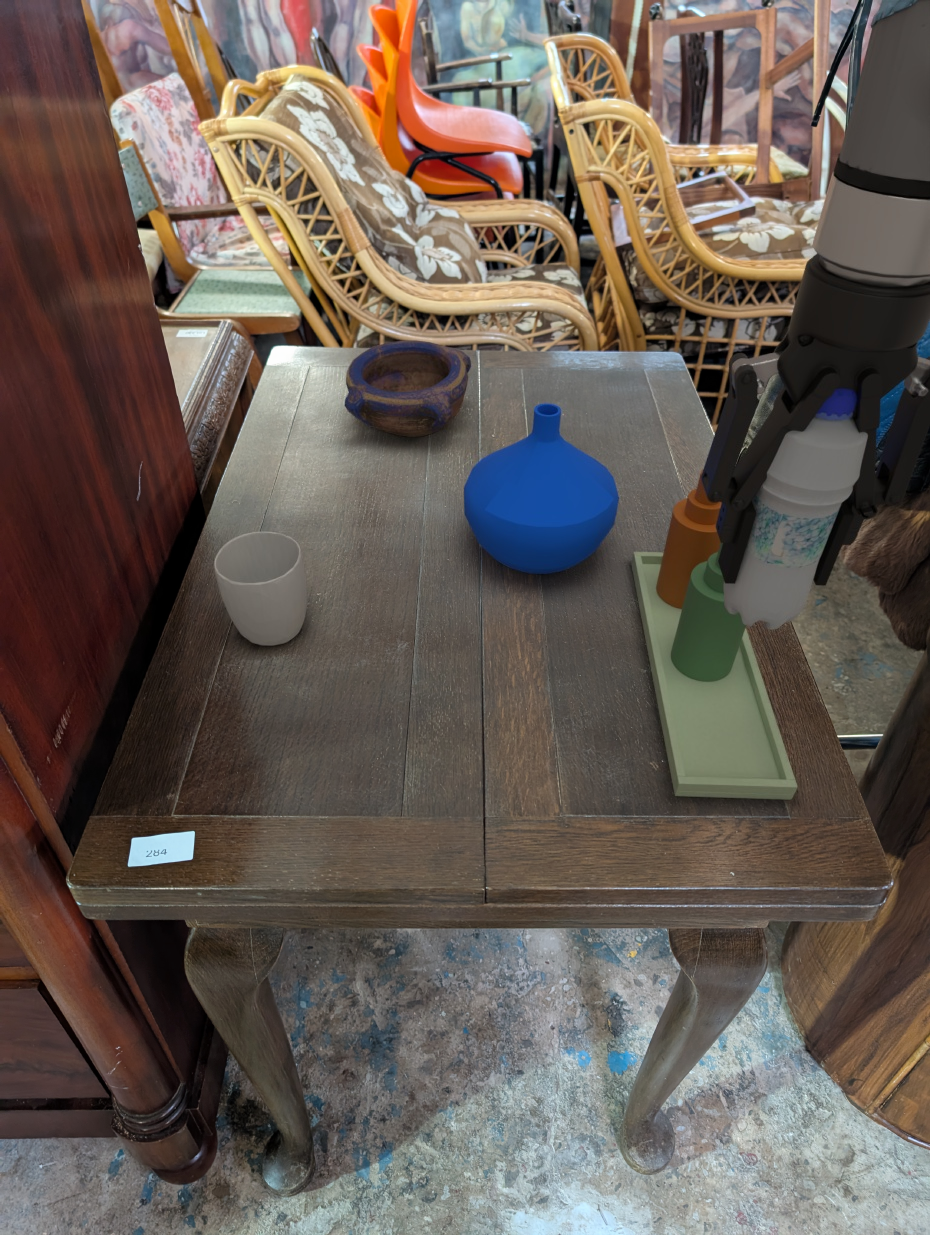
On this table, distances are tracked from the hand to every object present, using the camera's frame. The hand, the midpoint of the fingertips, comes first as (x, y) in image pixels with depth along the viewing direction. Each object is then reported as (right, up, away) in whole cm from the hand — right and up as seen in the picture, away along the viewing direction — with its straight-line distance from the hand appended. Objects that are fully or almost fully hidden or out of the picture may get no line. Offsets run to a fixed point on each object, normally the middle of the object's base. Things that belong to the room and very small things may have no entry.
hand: (771, 572), depth 61 cm
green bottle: (+1, -8, +23) cm, 24 cm away
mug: (-45, -3, +29) cm, 54 cm away
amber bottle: (+2, 0, +31) cm, 31 cm away
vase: (-15, +5, +38) cm, 41 cm away
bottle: (0, -3, +3) cm, 4 cm away
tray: (+1, -8, +23) cm, 25 cm away
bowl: (-32, +26, +61) cm, 74 cm away
